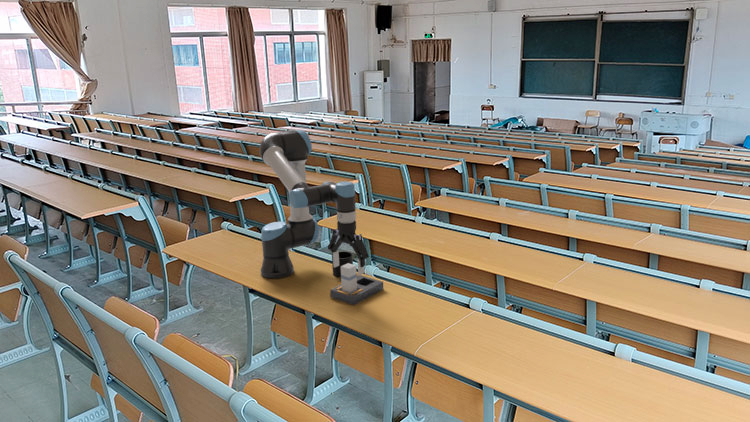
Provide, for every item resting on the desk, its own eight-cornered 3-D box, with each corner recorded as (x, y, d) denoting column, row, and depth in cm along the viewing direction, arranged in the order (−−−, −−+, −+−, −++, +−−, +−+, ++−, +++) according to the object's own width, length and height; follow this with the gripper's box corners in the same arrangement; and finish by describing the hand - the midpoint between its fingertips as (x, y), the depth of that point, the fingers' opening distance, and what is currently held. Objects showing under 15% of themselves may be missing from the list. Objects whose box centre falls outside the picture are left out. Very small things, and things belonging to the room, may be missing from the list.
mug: (344, 280, 246) (344, 261, 244) (328, 273, 255) (327, 255, 253) (361, 274, 252) (360, 256, 250) (344, 267, 261) (343, 249, 258)
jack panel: (330, 297, 230) (330, 288, 229) (360, 282, 244) (360, 274, 243) (354, 305, 222) (353, 296, 221) (383, 289, 236) (383, 281, 235)
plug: (342, 297, 229) (340, 266, 225) (349, 294, 233) (347, 263, 229) (350, 300, 227) (348, 268, 223) (357, 296, 230) (356, 265, 226)
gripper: (317, 217, 225) (320, 266, 231) (364, 228, 210) (365, 280, 216) (330, 213, 231) (332, 260, 237) (376, 223, 215) (378, 274, 221)
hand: (348, 270), depth 226 cm, fingers open, 13 cm apart
